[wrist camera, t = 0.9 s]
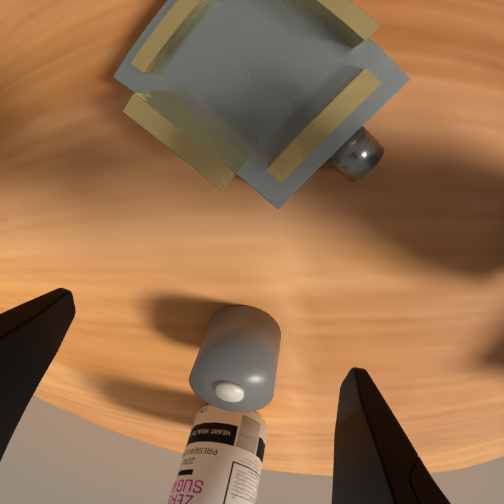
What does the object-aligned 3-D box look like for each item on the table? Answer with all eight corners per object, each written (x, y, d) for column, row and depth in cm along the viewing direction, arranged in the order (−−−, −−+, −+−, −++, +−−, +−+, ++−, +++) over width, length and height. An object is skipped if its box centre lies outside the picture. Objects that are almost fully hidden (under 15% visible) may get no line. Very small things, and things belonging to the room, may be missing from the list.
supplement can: (256, 440, 36) (235, 546, 23) (193, 422, 36) (159, 527, 23) (278, 411, 32) (258, 541, 19) (204, 390, 32) (163, 519, 19)
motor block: (417, 104, 16) (460, 115, 11) (305, 212, 20) (303, 260, 15) (237, -44, 13) (210, -85, 8) (137, 75, 17) (81, 79, 12)
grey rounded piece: (296, 334, 26) (290, 398, 20) (249, 366, 29) (236, 423, 23) (239, 291, 24) (219, 353, 19) (196, 330, 27) (172, 387, 22)
